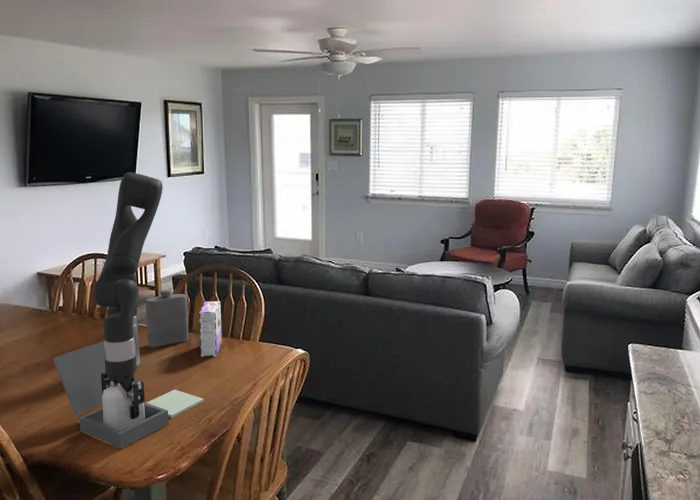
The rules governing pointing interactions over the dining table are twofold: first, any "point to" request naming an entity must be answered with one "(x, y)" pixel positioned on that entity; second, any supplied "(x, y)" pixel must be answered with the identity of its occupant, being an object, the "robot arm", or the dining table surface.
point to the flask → (167, 319)
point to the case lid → (82, 376)
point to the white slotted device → (119, 409)
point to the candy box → (210, 329)
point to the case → (120, 439)
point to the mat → (176, 402)
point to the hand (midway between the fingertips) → (124, 414)
